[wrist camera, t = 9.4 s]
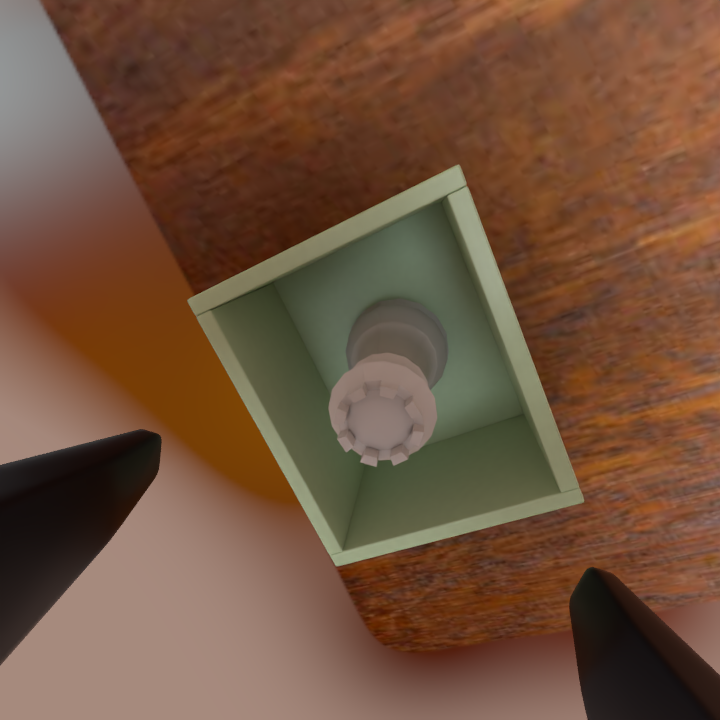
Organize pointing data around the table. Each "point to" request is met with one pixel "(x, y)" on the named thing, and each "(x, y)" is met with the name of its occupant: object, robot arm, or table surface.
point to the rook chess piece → (389, 382)
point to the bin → (452, 392)
